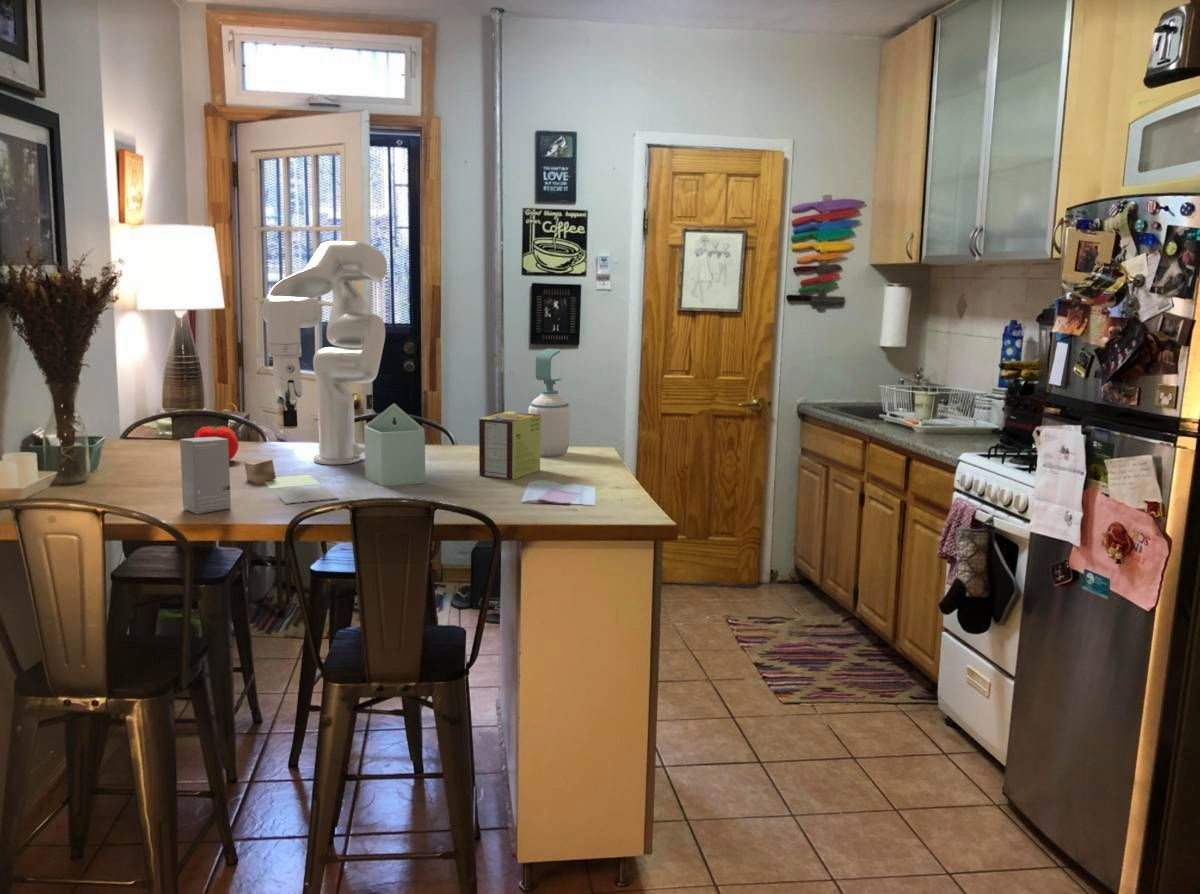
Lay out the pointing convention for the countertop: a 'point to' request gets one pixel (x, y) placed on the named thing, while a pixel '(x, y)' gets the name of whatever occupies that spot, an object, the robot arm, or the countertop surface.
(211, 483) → the skincare box
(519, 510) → the countertop surface
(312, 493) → the grey square tile
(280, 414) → the green lidded jar
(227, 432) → the tomato
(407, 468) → the planter
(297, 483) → the mat
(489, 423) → the protein box
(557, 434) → the soap bottle
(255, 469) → the walnut block
